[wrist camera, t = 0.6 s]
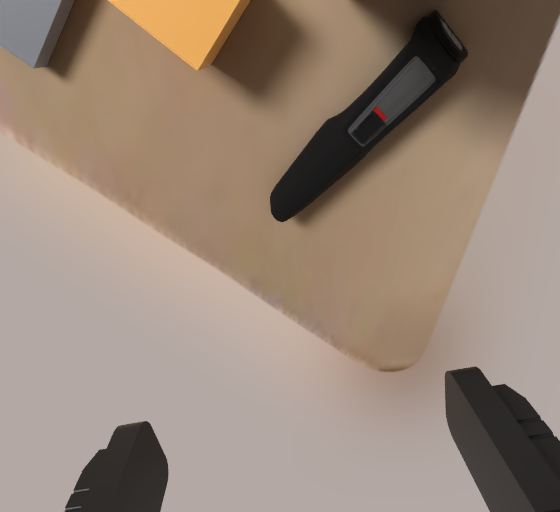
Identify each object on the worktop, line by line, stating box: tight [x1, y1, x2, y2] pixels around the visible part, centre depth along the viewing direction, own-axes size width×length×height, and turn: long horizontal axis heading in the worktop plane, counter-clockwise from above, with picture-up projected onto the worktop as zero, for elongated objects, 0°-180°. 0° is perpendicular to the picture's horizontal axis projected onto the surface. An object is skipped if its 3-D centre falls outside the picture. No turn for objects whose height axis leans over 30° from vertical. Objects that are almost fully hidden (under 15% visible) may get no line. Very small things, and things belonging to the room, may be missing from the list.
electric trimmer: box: [270, 10, 468, 222], centre depth 25 cm, size 4×16×3 cm, turn 137°
